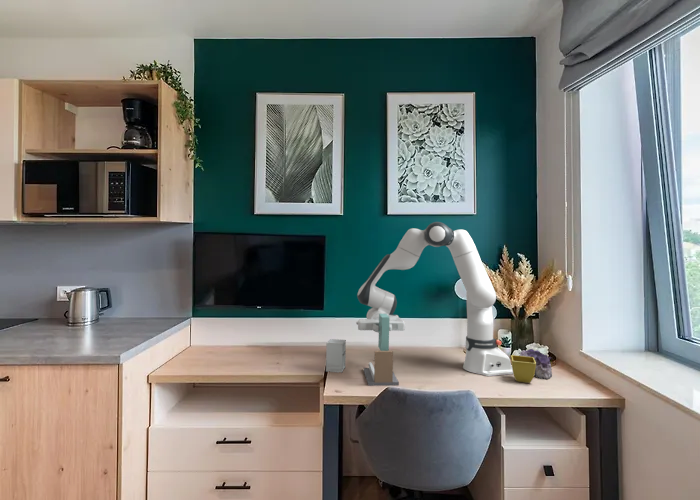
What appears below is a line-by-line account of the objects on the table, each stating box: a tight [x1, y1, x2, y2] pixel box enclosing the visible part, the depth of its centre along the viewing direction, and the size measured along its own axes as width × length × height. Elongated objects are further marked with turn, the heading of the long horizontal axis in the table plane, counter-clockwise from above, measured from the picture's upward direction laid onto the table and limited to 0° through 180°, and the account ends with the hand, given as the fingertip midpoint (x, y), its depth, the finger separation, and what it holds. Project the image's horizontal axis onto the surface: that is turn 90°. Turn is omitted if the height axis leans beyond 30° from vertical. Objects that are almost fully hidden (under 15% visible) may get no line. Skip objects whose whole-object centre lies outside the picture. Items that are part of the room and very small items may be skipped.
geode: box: [518, 348, 553, 380], centre depth 170 cm, size 20×12×10 cm, turn 177°
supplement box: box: [325, 338, 347, 373], centre depth 170 cm, size 7×7×13 cm
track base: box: [363, 350, 400, 387], centre depth 161 cm, size 12×18×13 cm, turn 4°
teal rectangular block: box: [378, 314, 390, 351], centre depth 160 cm, size 3×8×14 cm, turn 4°
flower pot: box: [510, 354, 536, 384], centre depth 159 cm, size 9×9×9 cm
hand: (383, 328), depth 160 cm, fingers closed on teal rectangular block, 3 cm apart
